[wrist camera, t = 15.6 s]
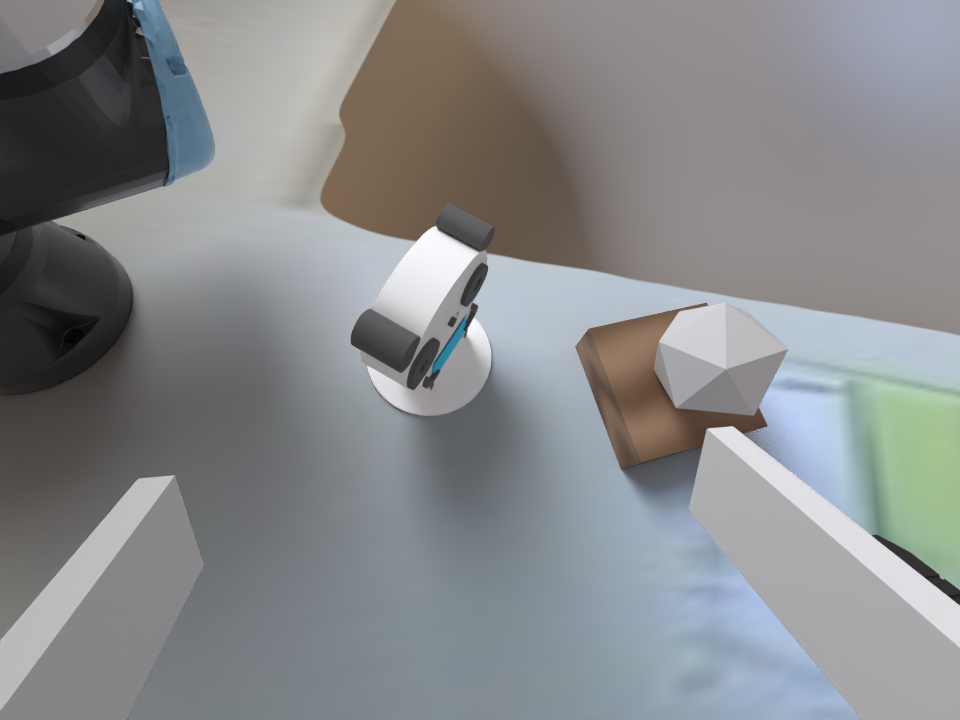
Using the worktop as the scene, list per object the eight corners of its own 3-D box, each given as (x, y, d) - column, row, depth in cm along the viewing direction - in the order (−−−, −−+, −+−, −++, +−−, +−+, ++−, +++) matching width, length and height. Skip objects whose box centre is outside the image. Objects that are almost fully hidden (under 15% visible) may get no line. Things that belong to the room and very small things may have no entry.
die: (752, 382, 40) (780, 277, 35) (772, 454, 34) (811, 338, 28) (650, 374, 43) (661, 276, 38) (650, 439, 36) (663, 330, 31)
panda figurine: (447, 446, 39) (455, 396, 25) (337, 381, 40) (287, 298, 26) (512, 338, 43) (550, 244, 30) (411, 282, 45) (402, 166, 31)
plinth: (575, 346, 44) (588, 328, 40) (684, 321, 46) (706, 302, 42) (621, 469, 40) (640, 462, 36) (737, 435, 42) (767, 426, 38)
